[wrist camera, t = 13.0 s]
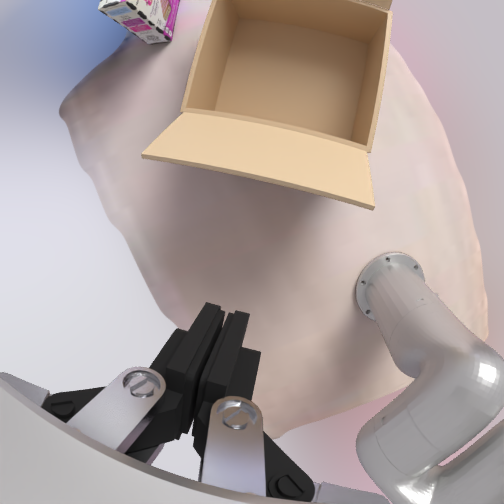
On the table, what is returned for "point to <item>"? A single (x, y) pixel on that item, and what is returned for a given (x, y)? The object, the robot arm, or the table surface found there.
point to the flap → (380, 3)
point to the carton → (293, 66)
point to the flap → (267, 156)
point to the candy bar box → (144, 17)
